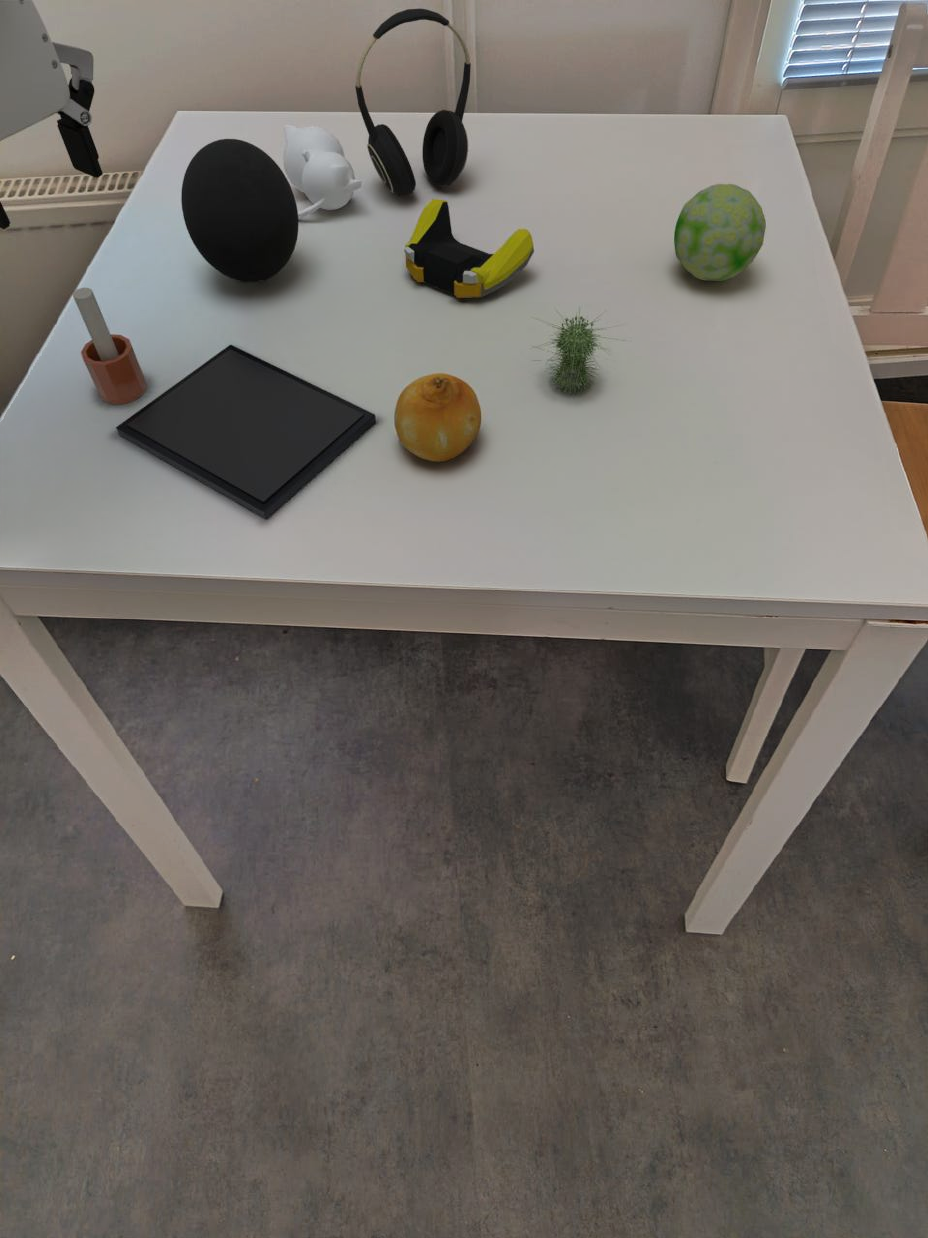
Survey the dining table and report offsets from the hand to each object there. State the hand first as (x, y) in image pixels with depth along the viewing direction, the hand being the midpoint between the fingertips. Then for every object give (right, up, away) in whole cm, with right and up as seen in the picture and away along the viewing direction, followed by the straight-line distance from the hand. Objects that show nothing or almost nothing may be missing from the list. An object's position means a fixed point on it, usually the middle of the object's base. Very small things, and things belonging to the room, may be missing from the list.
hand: (44, 196), depth 72 cm
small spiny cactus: (+47, -12, +16) cm, 51 cm away
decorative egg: (+11, +5, +28) cm, 31 cm away
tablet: (+14, -17, +12) cm, 25 cm away
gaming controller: (+35, +5, +28) cm, 45 cm away
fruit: (+33, -19, +11) cm, 40 cm away
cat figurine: (+17, +18, +38) cm, 45 cm away
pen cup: (0, -12, +16) cm, 20 cm away
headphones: (+30, +21, +40) cm, 54 cm away
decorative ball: (+64, +4, +27) cm, 70 cm away
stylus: (0, -12, +16) cm, 20 cm away
